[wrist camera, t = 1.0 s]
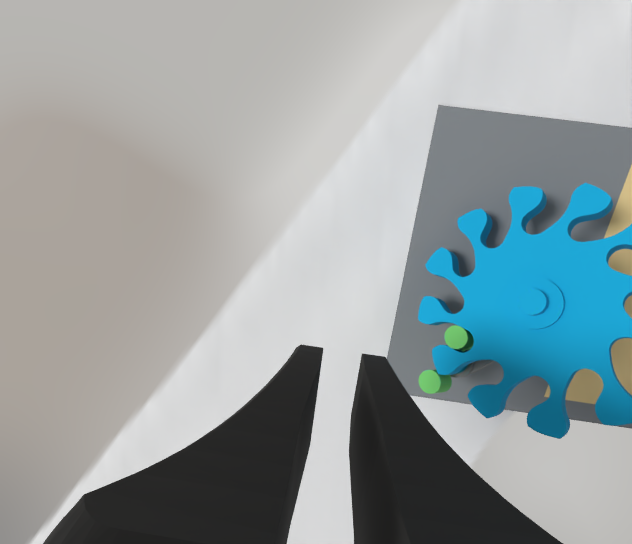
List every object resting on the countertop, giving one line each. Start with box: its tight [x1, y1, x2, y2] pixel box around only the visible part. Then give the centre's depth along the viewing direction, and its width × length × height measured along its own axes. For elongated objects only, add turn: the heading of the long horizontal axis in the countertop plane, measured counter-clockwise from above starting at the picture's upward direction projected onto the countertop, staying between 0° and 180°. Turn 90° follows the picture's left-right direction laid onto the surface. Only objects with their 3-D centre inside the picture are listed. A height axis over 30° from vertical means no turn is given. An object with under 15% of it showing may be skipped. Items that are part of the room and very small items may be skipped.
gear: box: [418, 183, 632, 439], centre depth 18 cm, size 11×6×10 cm
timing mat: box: [387, 105, 632, 428], centre depth 20 cm, size 18×15×1 cm
